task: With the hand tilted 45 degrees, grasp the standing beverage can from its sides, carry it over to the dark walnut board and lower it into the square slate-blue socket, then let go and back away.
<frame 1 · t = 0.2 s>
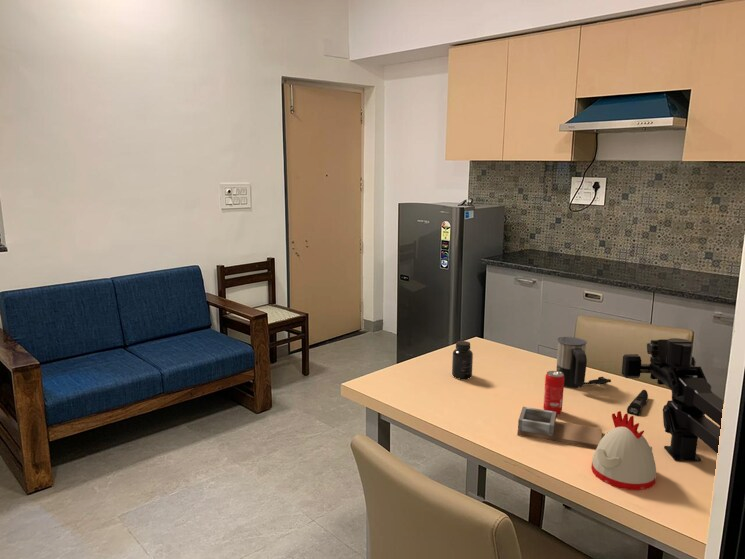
hand: (644, 357, 164), 17 cm above the table, tool horizontal, fingers open, 9 cm apart
milk frother: (581, 384, 187), on the table
beverage can: (552, 412, 166), on the table
supplement bottle: (461, 376, 194), on the table
electric trimmer: (637, 407, 171), on the table
socket board: (559, 433, 153), on the table
kitchen timer: (622, 474, 134), on the table
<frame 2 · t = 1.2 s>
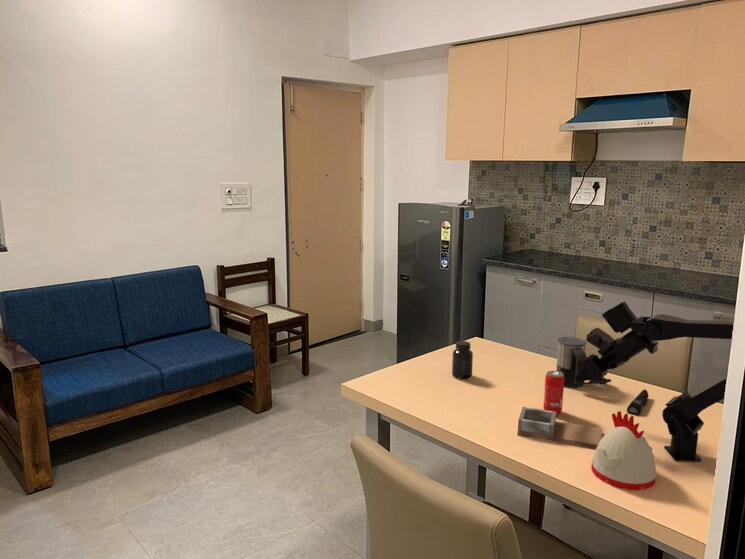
hand: (582, 375, 158), 14 cm above the table, tool tilted 45°, fingers open, 9 cm apart
nothing on the table moved.
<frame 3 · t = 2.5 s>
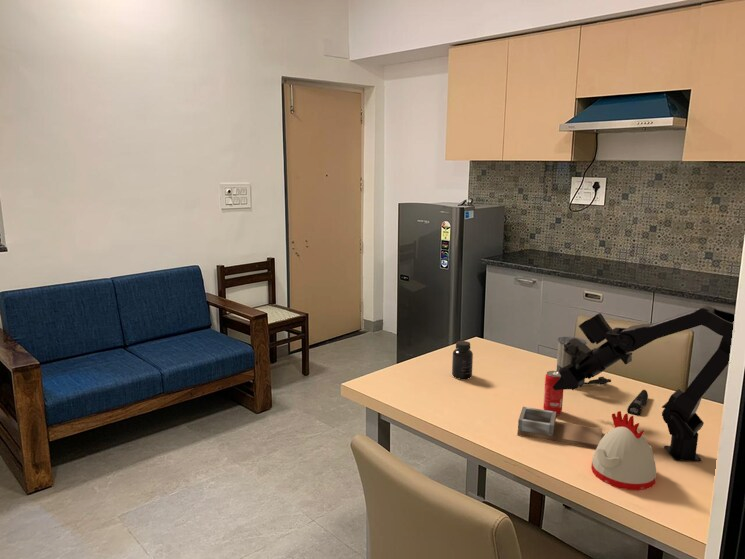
hand: (561, 384, 163), 9 cm above the table, tool tilted 45°, fingers open, 9 cm apart
nothing on the table moved.
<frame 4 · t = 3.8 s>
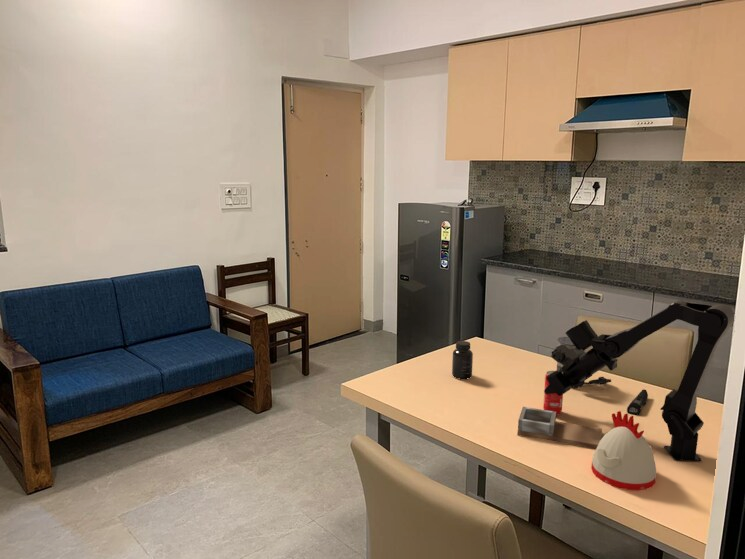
hand: (549, 389, 166), 7 cm above the table, tool tilted 45°, fingers closed on beverage can, 5 cm apart
beverage can: (552, 412, 166), on the table, touching gripper
everything else where it was.
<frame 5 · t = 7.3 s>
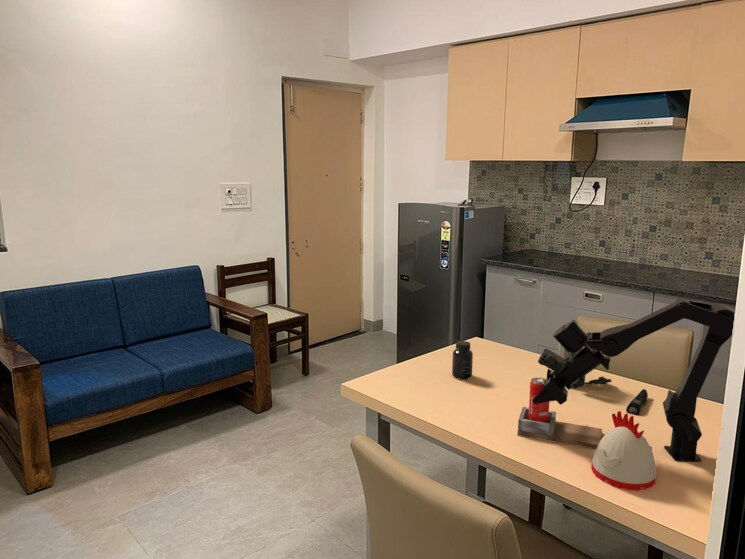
hand: (534, 398, 154), 9 cm above the table, tool tilted 45°, fingers closed on beverage can, 5 cm apart
beverage can: (538, 422, 154), point 2 cm above the table, touching gripper
everything else where it was.
when the fingers open (9 cm above the table, at t = 7.5 s): beverage can stays where it is, resting on socket board.
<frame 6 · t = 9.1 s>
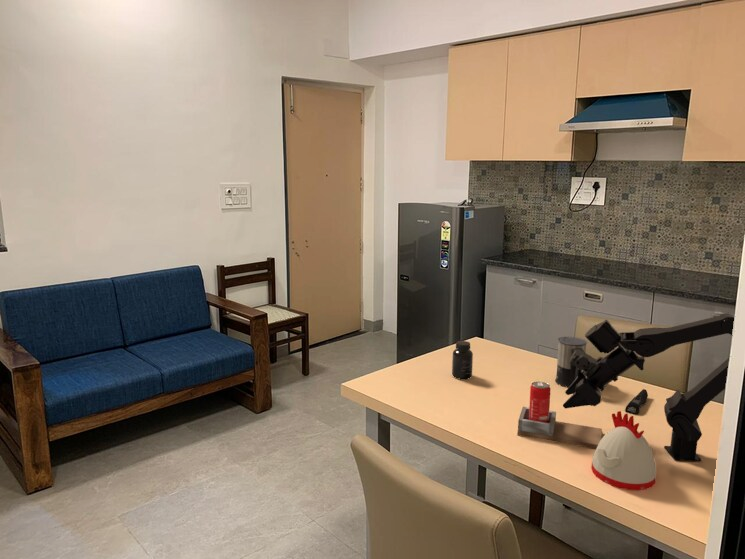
hand: (565, 400, 151), 10 cm above the table, tool tilted 45°, fingers open, 9 cm apart
beverage can: (538, 427, 154), point 1 cm above the table, touching socket board
everything else where it was.
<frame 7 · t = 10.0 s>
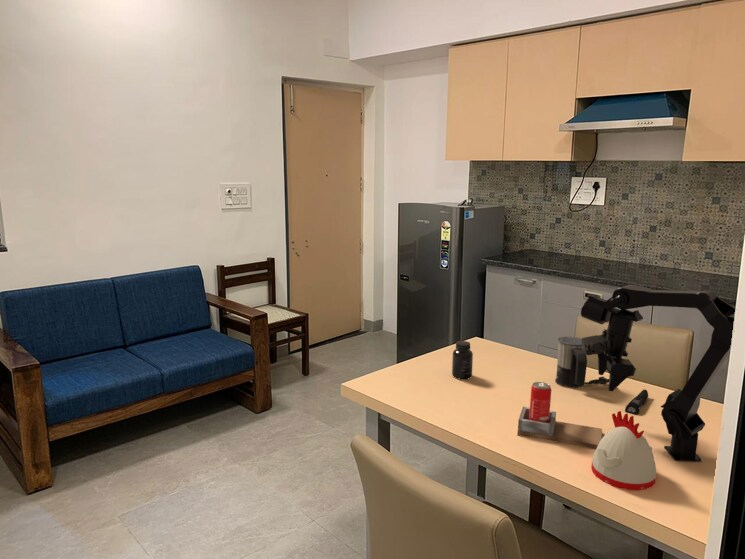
hand: (605, 382, 156), 13 cm above the table, tool pointing down, fingers open, 9 cm apart
nothing on the table moved.
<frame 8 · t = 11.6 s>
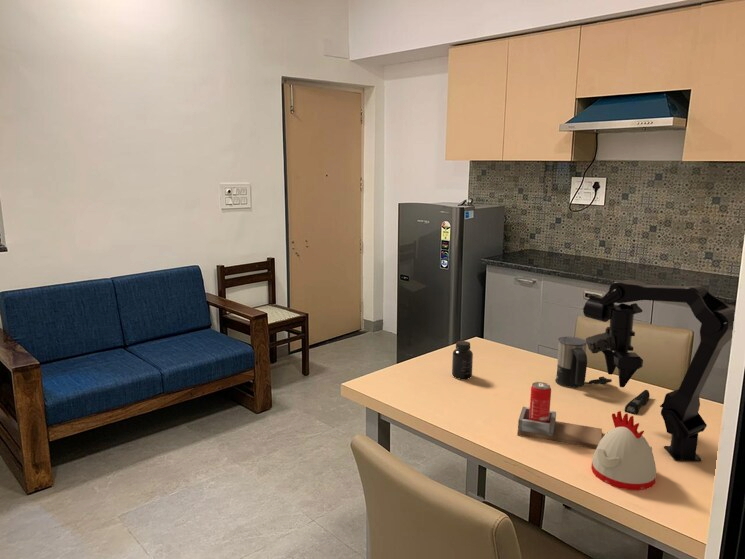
hand: (615, 380, 156), 13 cm above the table, tool pointing down, fingers open, 9 cm apart
nothing on the table moved.
at the end: beverage can inside the target area (0.5 cm from its centre), point 1.0 cm above the table; beverage can tilted 0°; the gripper is holding nothing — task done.
